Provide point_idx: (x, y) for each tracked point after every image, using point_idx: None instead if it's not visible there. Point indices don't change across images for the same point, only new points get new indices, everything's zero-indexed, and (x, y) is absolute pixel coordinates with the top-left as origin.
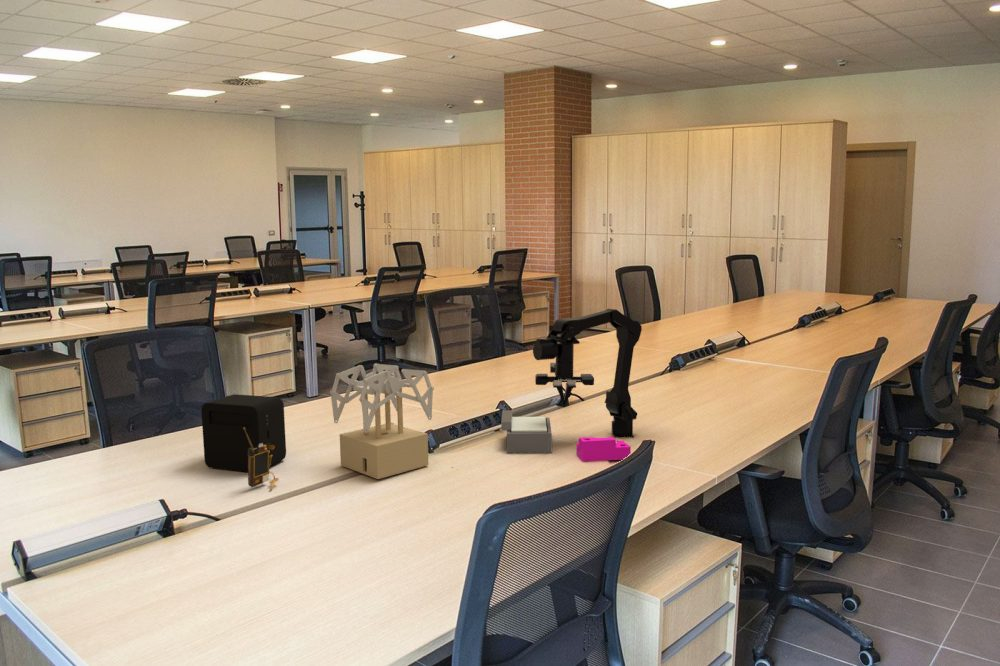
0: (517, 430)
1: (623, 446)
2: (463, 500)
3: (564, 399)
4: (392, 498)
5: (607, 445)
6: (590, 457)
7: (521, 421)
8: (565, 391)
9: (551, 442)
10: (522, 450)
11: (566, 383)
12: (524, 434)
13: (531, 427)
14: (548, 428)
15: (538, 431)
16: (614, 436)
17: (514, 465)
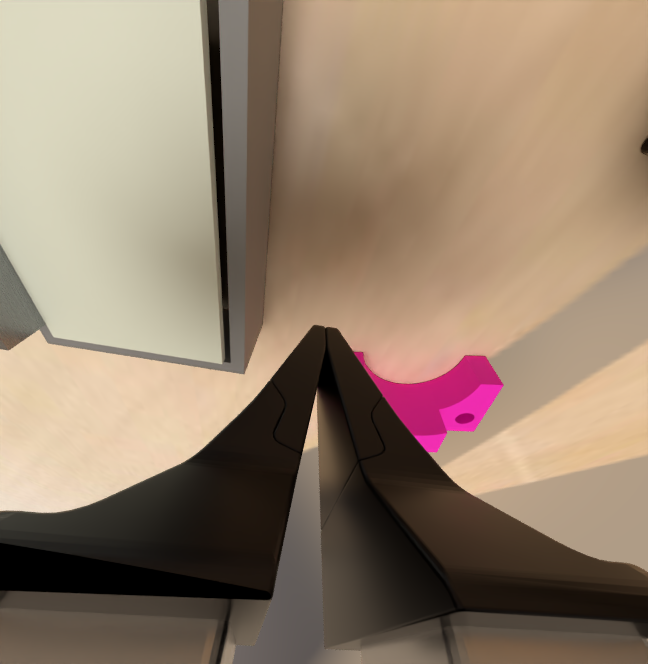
0: (83, 341)
1: (457, 426)
2: (119, 481)
3: (321, 393)
4: (4, 464)
5: None
6: None
7: (13, 138)
8: (339, 468)
9: (253, 348)
10: None
11: (414, 626)
12: (130, 353)
13: (139, 309)
14: (232, 306)
15: (185, 354)
16: (645, 146)
17: (161, 389)
